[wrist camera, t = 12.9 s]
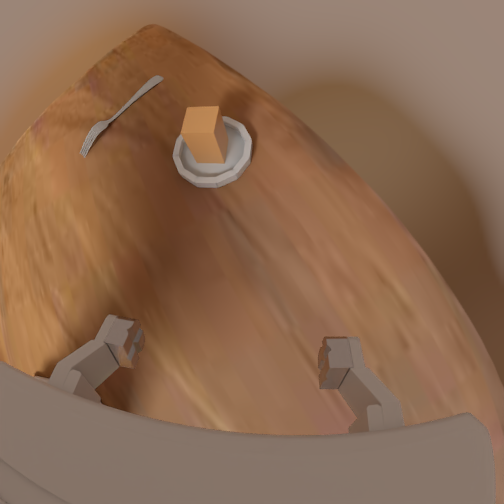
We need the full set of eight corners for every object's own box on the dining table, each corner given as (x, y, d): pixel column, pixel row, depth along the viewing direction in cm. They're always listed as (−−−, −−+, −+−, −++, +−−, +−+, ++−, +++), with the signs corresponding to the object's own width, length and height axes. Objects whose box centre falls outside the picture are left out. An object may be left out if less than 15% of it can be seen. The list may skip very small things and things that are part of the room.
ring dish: (170, 186, 39) (166, 182, 37) (184, 122, 40) (181, 117, 39) (247, 189, 38) (246, 184, 36) (255, 122, 39) (254, 116, 38)
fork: (169, 87, 45) (166, 77, 42) (84, 162, 41) (77, 154, 39) (160, 82, 46) (157, 72, 43) (78, 155, 42) (70, 147, 39)
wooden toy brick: (197, 163, 38) (180, 133, 30) (201, 139, 39) (187, 107, 31) (224, 163, 38) (213, 132, 30) (228, 139, 38) (219, 106, 31)
